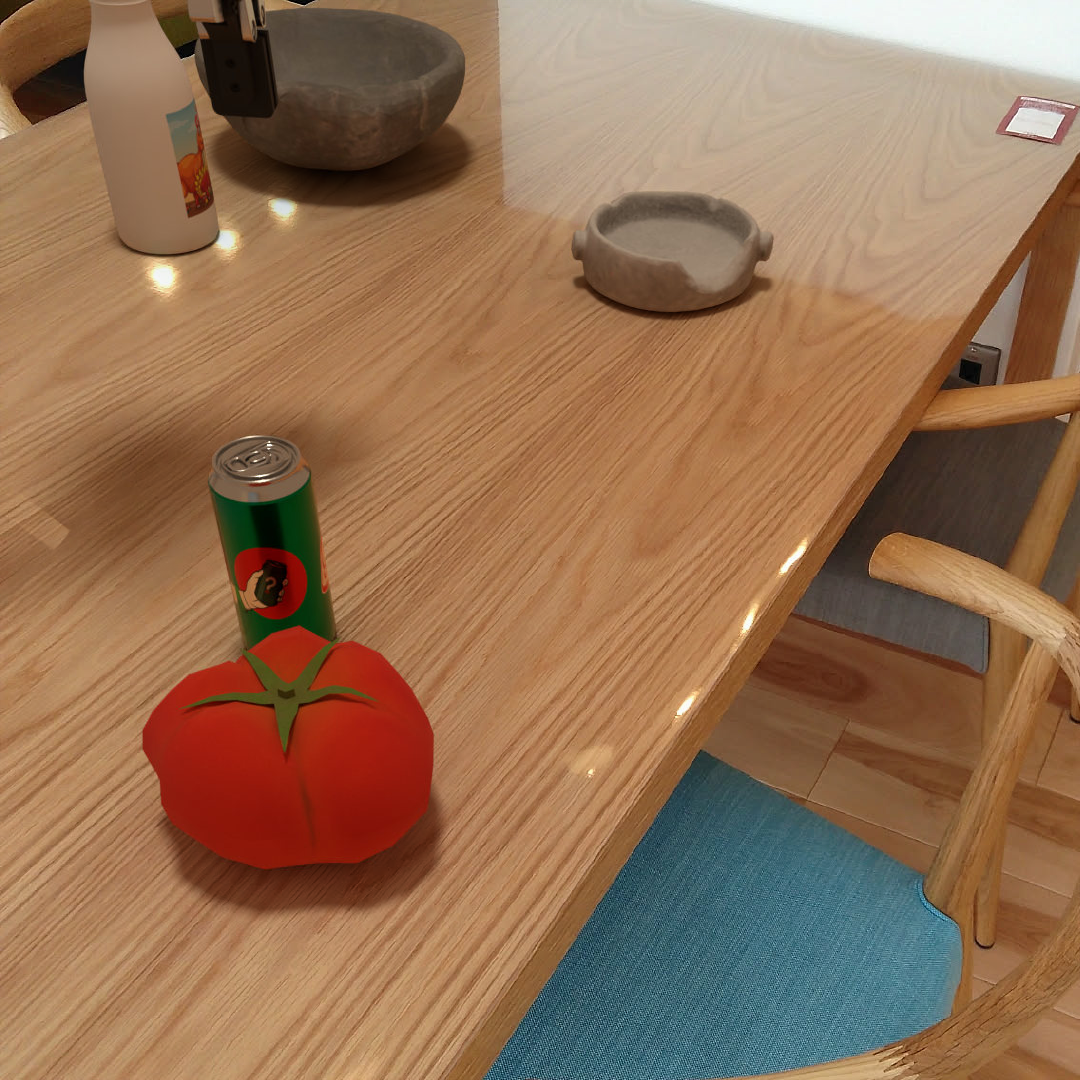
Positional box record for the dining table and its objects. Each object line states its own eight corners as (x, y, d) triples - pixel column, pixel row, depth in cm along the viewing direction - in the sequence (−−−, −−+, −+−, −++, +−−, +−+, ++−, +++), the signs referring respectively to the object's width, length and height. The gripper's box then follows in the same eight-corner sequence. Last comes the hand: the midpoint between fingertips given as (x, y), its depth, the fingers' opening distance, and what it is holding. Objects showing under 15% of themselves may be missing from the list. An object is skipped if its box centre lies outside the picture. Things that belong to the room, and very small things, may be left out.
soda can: (355, 644, 78) (328, 463, 69) (274, 682, 75) (236, 498, 66) (306, 599, 80) (274, 419, 72) (226, 635, 77) (184, 452, 69)
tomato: (483, 741, 73) (474, 611, 67) (408, 927, 64) (390, 797, 58) (230, 700, 74) (198, 569, 67) (121, 879, 64) (73, 746, 58)
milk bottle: (167, 266, 107) (106, -13, 94) (98, 237, 110) (28, -39, 96) (241, 233, 112) (193, -37, 99) (173, 206, 115) (117, -60, 101)
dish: (784, 277, 114) (791, 218, 111) (690, 339, 105) (694, 278, 102) (643, 225, 119) (645, 168, 116) (542, 280, 111) (540, 220, 107)
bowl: (520, 148, 129) (517, 34, 122) (369, 232, 114) (355, 108, 107) (323, 90, 136) (310, -21, 129) (156, 163, 121) (130, 42, 114)
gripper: (137, -336, 67) (207, 59, 80) (40, -285, 57) (139, 162, 69) (294, -323, 68) (339, 67, 81) (227, -269, 57) (291, 171, 70)
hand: (246, 110), depth 75 cm, fingers closed
